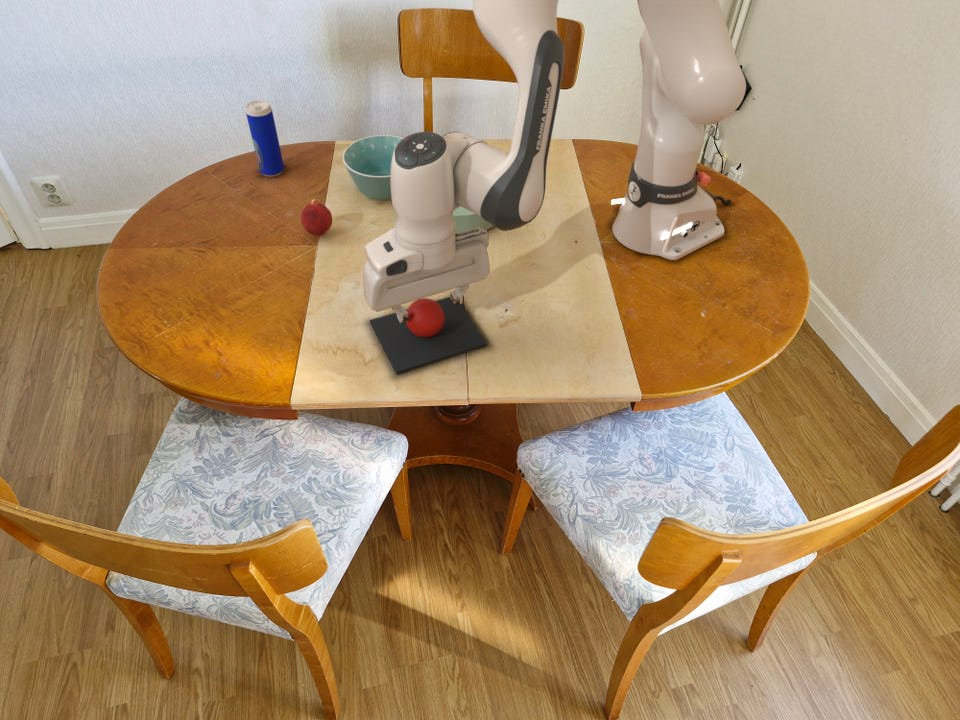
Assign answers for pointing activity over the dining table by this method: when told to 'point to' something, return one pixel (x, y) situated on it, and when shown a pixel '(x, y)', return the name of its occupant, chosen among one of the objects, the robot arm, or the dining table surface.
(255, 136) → the beverage can
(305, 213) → the onion
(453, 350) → the mat
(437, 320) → the red ball
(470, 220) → the fruit bowl
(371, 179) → the bowl
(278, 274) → the dining table surface
